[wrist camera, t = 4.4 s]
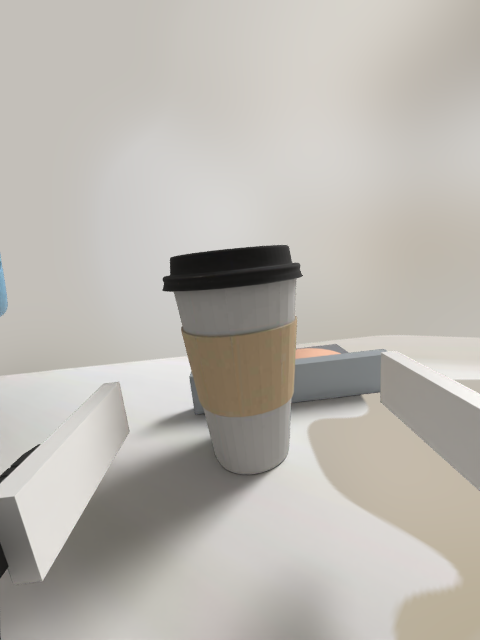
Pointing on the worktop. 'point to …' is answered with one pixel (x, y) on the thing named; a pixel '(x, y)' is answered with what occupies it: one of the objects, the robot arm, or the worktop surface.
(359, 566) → the worktop surface
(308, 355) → the mat
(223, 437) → the coffee cup
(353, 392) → the blue-grey rectangular bar
